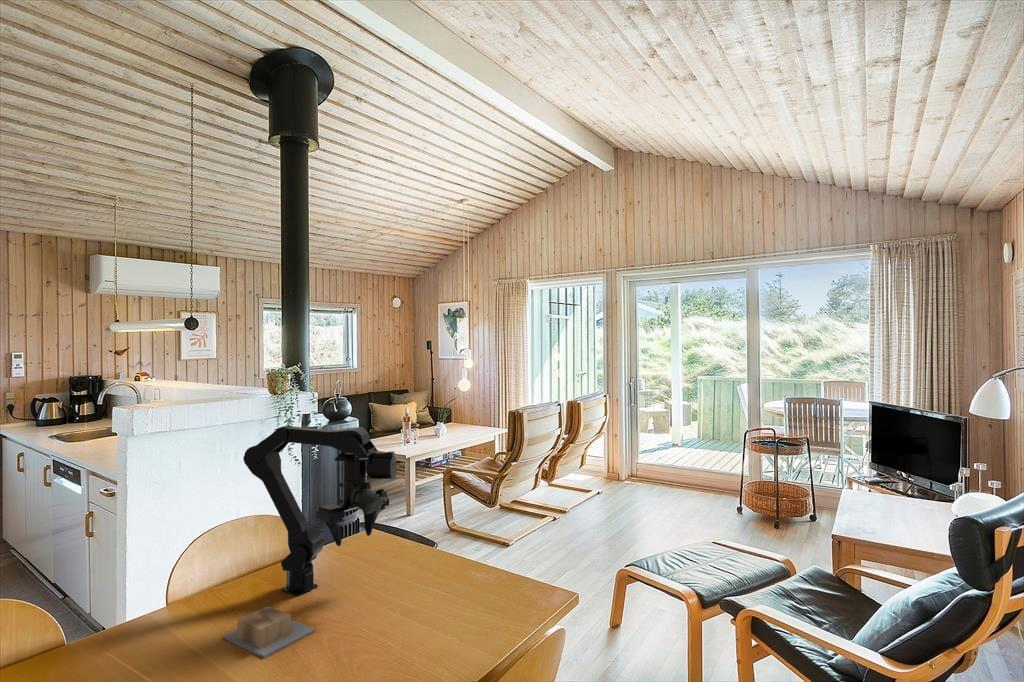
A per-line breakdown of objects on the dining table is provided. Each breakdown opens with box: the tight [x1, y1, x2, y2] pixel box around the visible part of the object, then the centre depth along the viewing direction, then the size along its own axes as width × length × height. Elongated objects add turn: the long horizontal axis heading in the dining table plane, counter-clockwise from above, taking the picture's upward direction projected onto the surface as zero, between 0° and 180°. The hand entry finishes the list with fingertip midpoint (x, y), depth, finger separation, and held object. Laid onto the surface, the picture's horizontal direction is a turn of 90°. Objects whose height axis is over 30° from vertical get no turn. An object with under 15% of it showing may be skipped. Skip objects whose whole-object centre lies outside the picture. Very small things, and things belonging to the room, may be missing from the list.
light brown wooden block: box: [236, 605, 292, 648], centre depth 112 cm, size 8×4×7 cm
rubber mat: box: [222, 619, 316, 659], centre depth 113 cm, size 14×12×1 cm
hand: (354, 540), depth 135 cm, fingers open, 9 cm apart
